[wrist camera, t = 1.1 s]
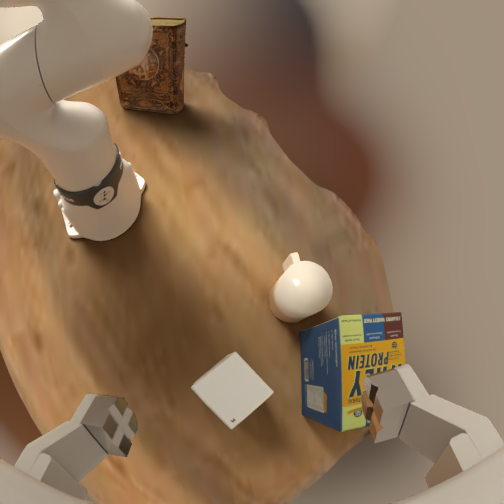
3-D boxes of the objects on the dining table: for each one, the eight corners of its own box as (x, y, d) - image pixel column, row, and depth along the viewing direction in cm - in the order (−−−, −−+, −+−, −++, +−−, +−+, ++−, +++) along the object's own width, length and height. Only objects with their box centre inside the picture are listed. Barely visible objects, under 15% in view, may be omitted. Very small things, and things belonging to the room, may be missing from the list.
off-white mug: (316, 316, 49) (338, 306, 40) (274, 327, 47) (289, 319, 39) (301, 264, 52) (319, 245, 44) (260, 272, 50) (272, 253, 42)
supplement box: (257, 385, 43) (276, 393, 31) (223, 414, 40) (230, 432, 28) (227, 352, 44) (236, 349, 32) (193, 380, 41) (189, 388, 30)
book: (186, 102, 64) (189, 17, 41) (179, 115, 62) (179, 26, 39) (130, 96, 63) (121, 18, 40) (121, 108, 60) (108, 27, 38)
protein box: (351, 327, 49) (402, 310, 35) (354, 407, 43) (407, 417, 29) (298, 330, 47) (338, 314, 33) (300, 416, 41) (341, 434, 27)
